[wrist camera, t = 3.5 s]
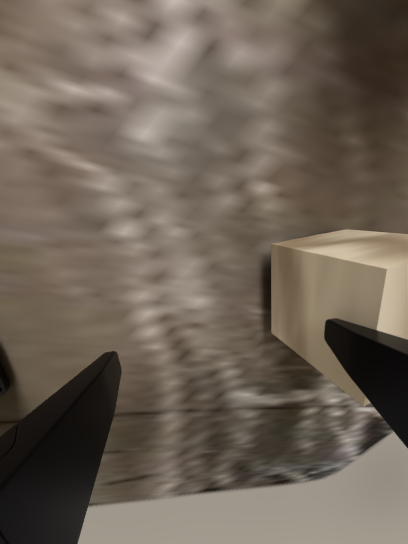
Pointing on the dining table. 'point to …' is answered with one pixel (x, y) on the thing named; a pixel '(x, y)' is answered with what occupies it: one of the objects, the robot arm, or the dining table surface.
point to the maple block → (338, 292)
